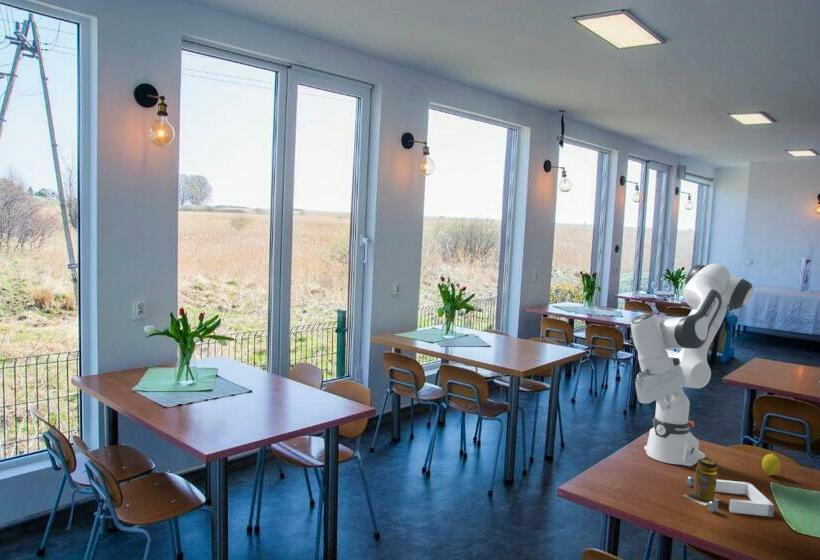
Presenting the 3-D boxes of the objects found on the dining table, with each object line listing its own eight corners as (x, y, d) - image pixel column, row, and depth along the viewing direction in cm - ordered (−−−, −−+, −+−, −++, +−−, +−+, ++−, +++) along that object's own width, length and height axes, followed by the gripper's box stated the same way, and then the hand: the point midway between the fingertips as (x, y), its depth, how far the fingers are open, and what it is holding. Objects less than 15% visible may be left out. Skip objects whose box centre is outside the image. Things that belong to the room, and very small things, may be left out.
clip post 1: (689, 483, 199) (690, 475, 199) (696, 486, 197) (697, 477, 197) (685, 485, 197) (686, 476, 197) (692, 488, 195) (693, 479, 195)
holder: (730, 512, 180) (731, 501, 179) (709, 489, 196) (711, 478, 195) (773, 516, 179) (774, 505, 178) (748, 493, 194) (749, 482, 194)
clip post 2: (710, 509, 181) (712, 499, 181) (718, 512, 179) (719, 502, 179) (706, 510, 180) (707, 501, 179) (714, 514, 178) (715, 504, 177)
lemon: (774, 473, 213) (776, 451, 212) (782, 479, 207) (784, 457, 207) (757, 471, 213) (760, 449, 213) (765, 478, 208) (767, 455, 207)
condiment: (720, 500, 188) (724, 463, 186) (704, 506, 183) (709, 468, 182) (697, 491, 194) (702, 455, 192) (682, 496, 189) (686, 459, 188)
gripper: (643, 374, 180) (655, 419, 179) (682, 357, 191) (694, 400, 190) (626, 375, 185) (638, 419, 184) (665, 358, 196) (676, 400, 196)
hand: (667, 409), depth 187 cm, fingers closed
